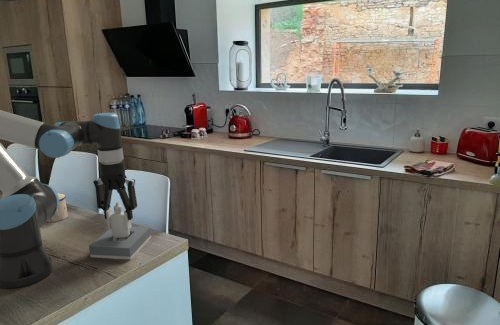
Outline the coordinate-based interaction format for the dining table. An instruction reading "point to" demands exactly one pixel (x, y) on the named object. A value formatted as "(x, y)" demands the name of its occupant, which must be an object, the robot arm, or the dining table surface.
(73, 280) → the dining table surface
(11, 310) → the dining table surface
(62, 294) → the dining table surface
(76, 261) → the dining table surface
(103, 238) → the hole block
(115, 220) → the eye dropper bottle
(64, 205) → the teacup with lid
